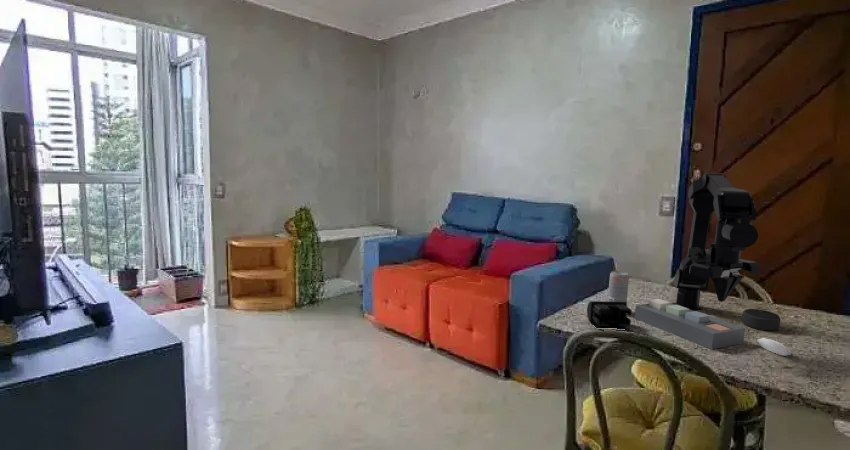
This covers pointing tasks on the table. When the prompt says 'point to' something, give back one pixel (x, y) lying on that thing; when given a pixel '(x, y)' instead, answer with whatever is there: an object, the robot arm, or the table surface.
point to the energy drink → (618, 286)
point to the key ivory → (659, 303)
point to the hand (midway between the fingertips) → (721, 301)
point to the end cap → (609, 314)
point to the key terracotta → (718, 327)
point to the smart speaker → (761, 319)
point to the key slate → (697, 317)
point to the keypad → (691, 327)
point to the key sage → (677, 310)
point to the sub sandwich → (773, 346)
